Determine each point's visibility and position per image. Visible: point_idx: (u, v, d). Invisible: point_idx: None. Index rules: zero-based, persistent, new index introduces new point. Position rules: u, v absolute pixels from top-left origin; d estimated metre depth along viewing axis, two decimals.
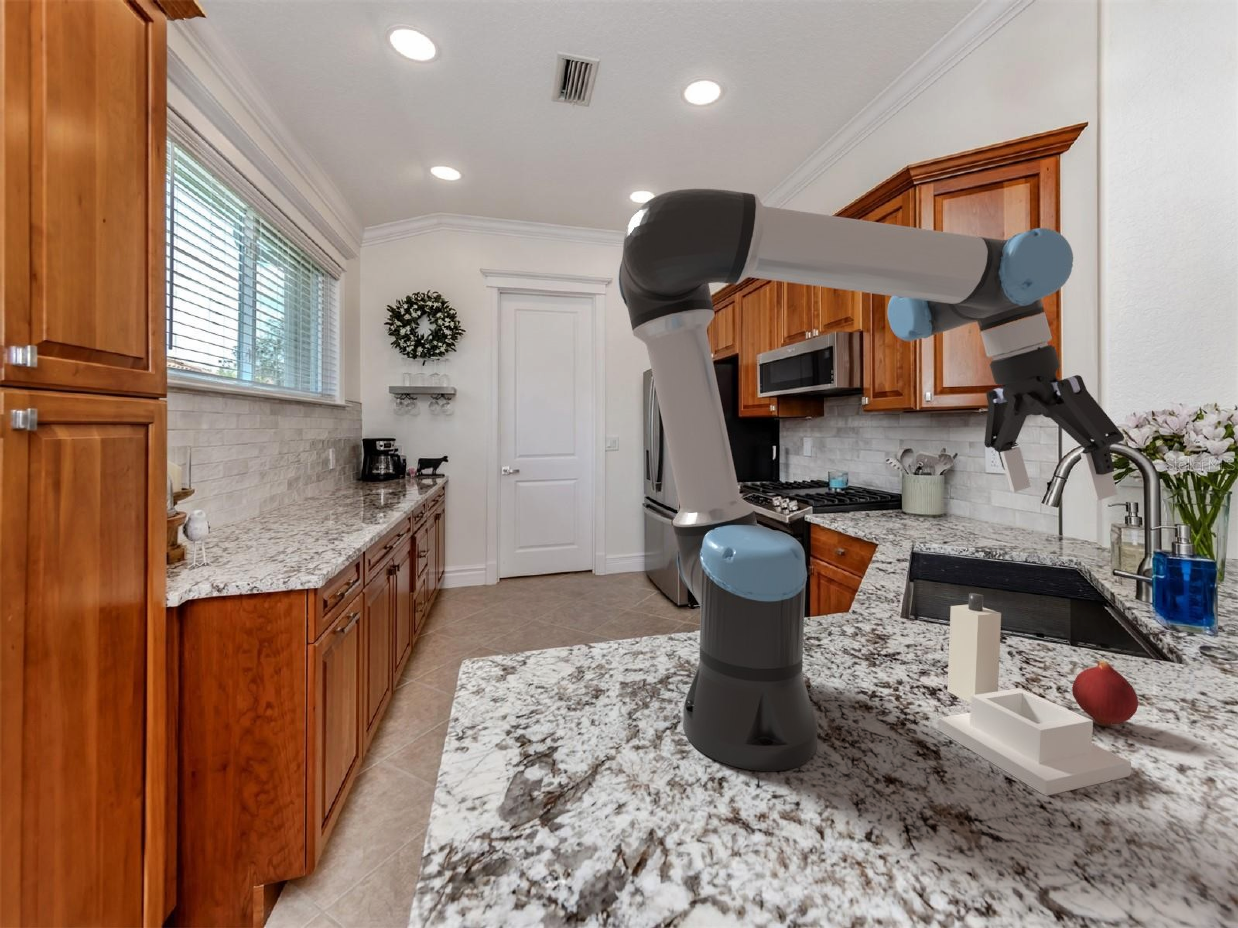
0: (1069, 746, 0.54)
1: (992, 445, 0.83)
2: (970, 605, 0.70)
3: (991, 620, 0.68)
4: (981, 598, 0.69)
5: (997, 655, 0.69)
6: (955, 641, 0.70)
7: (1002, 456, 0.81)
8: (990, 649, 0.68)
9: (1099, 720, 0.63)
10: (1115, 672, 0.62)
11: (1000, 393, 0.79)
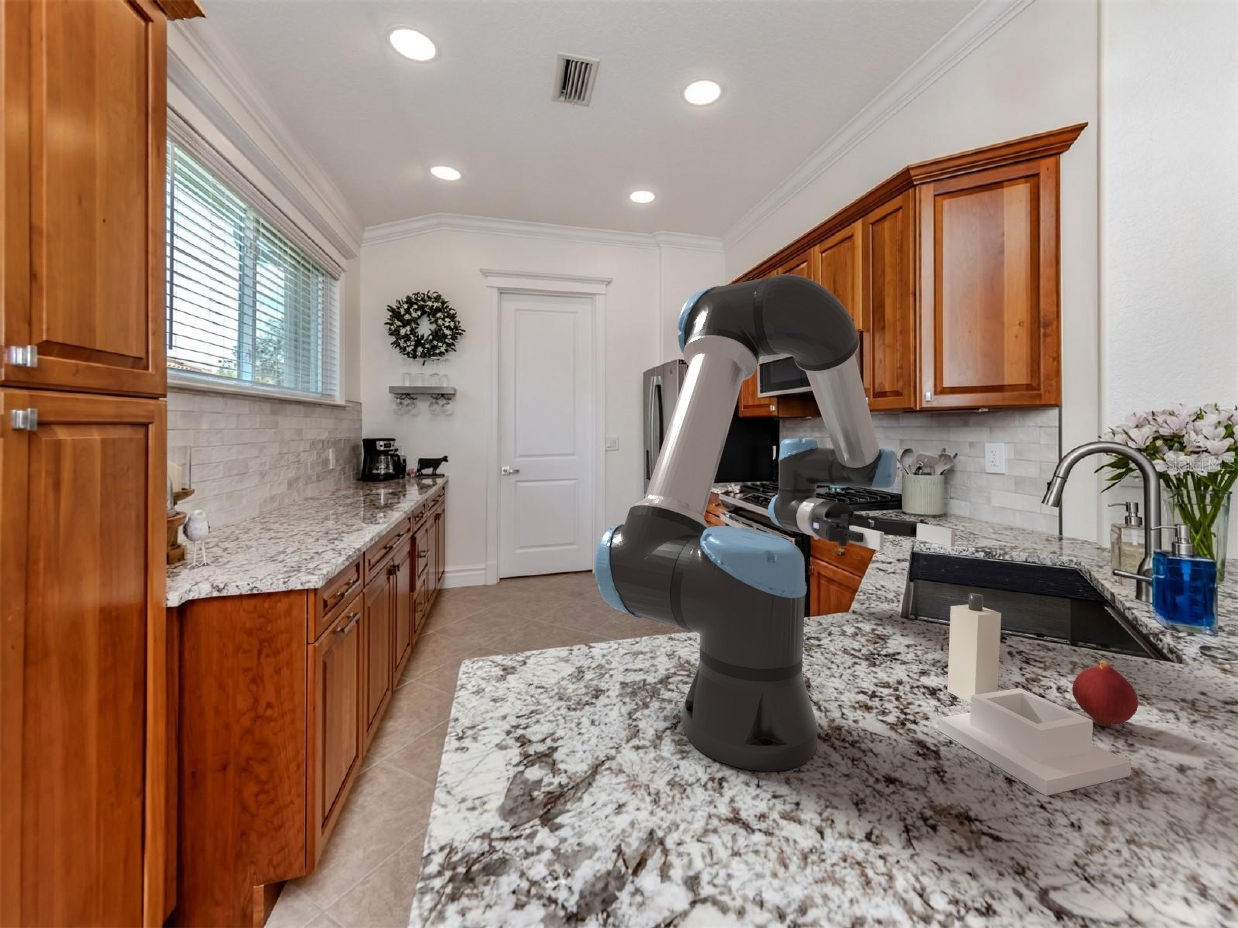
0: (1069, 746, 0.54)
1: (835, 528, 0.84)
2: (970, 605, 0.70)
3: (991, 620, 0.68)
4: (981, 598, 0.69)
5: (997, 655, 0.69)
6: (955, 641, 0.70)
7: (853, 526, 0.83)
8: (990, 649, 0.68)
9: (1099, 720, 0.63)
10: (1115, 672, 0.62)
11: None
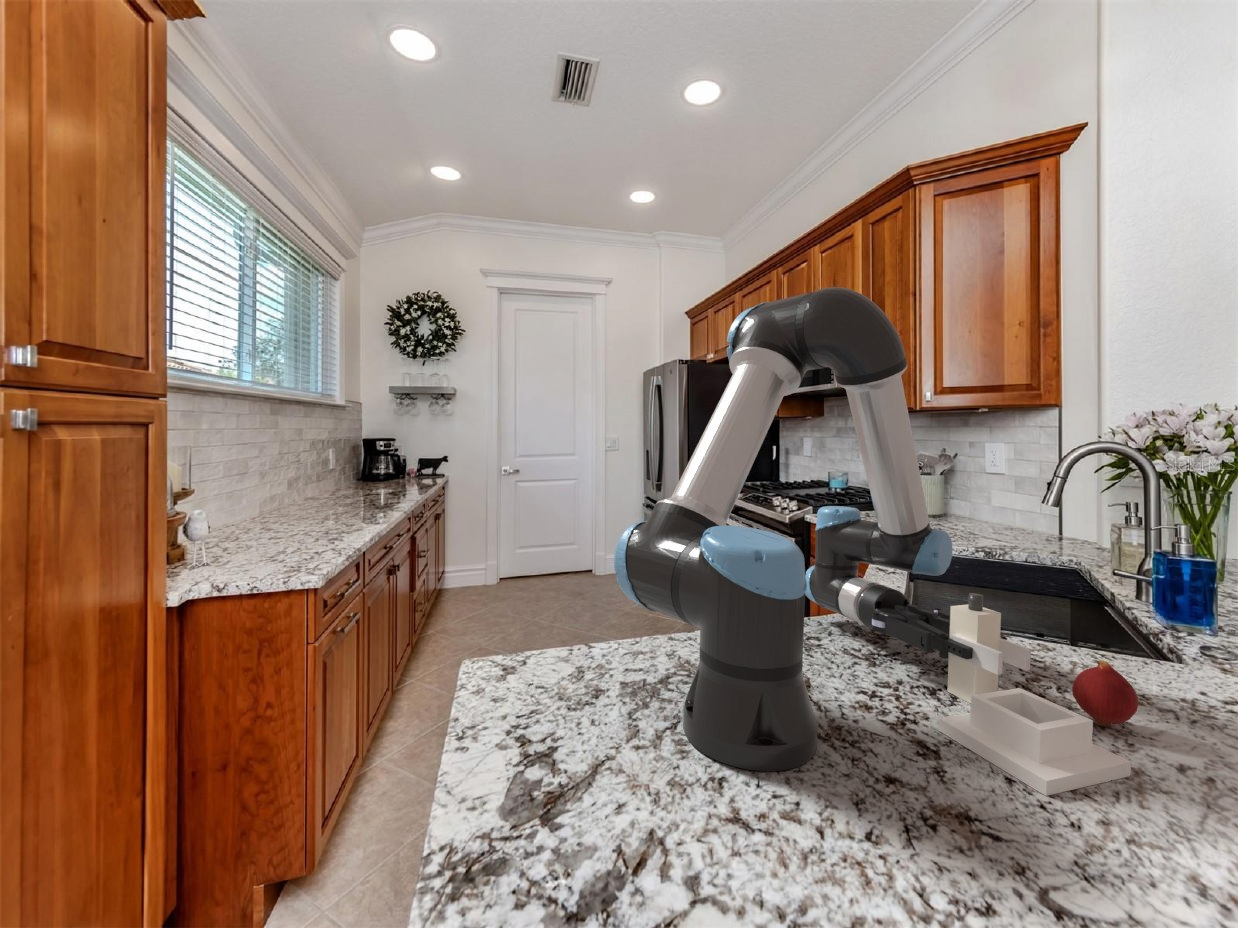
0: (1069, 746, 0.54)
1: (934, 637, 0.71)
2: (970, 605, 0.70)
3: (990, 620, 0.68)
4: (981, 598, 0.69)
5: None
6: None
7: (957, 636, 0.70)
8: None
9: (1099, 720, 0.63)
10: (1115, 672, 0.62)
11: None
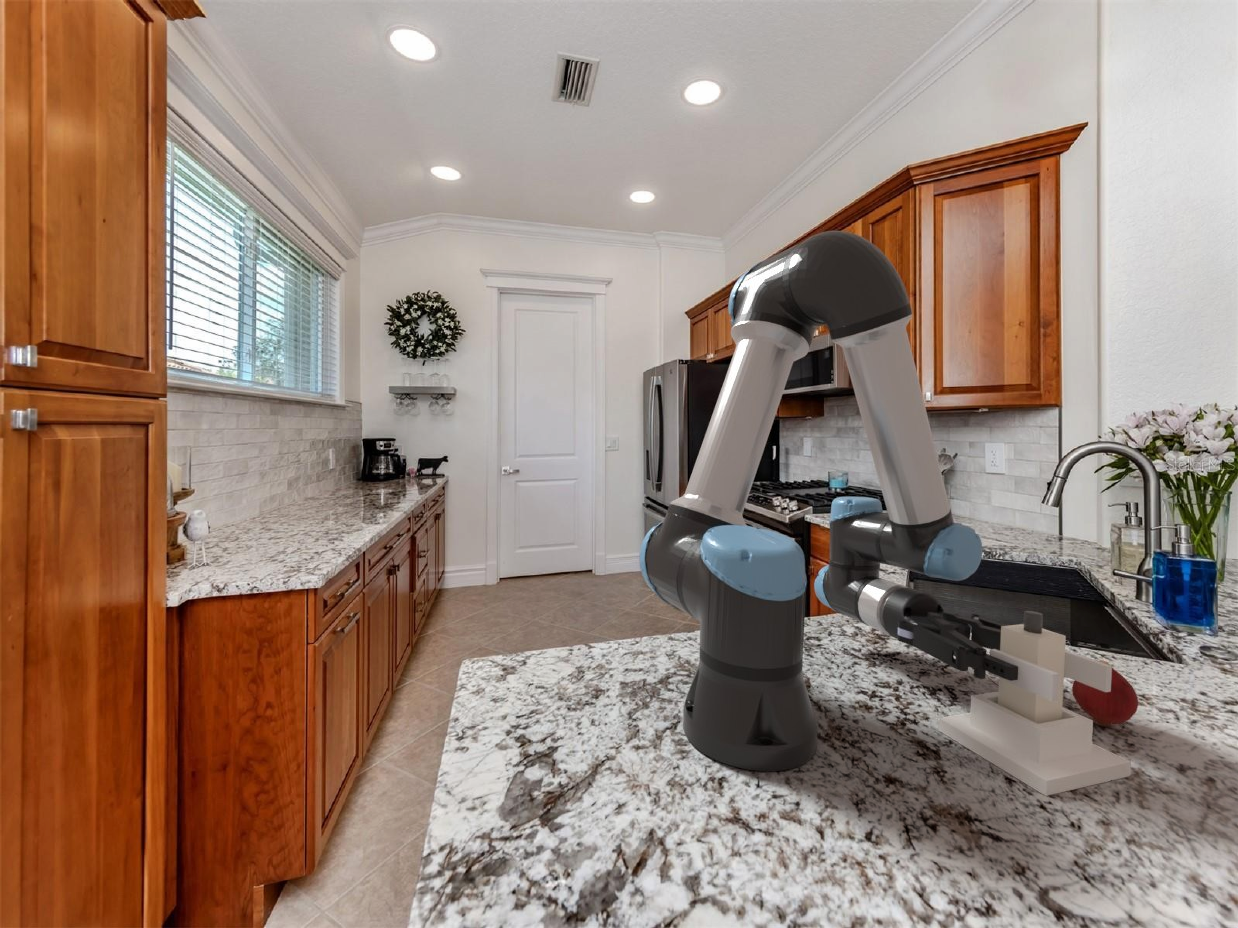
0: (1069, 746, 0.54)
1: (968, 652, 0.58)
2: (1026, 626, 0.57)
3: (1053, 645, 0.55)
4: (1040, 617, 0.56)
5: (1061, 688, 0.56)
6: None
7: (997, 651, 0.57)
8: None
9: (1099, 720, 0.63)
10: (1115, 672, 0.62)
11: None
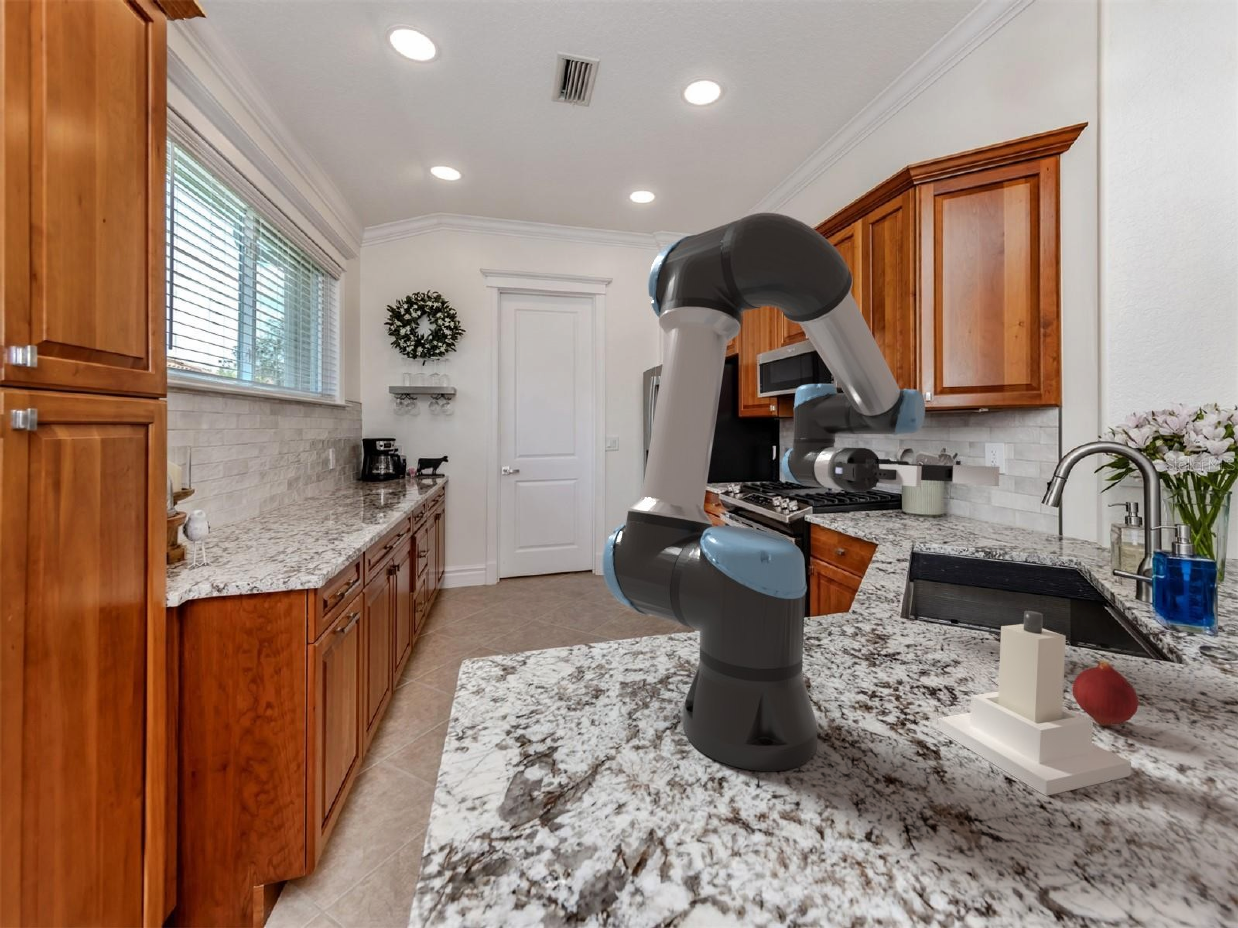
0: (1069, 746, 0.54)
1: (863, 467, 0.74)
2: (1026, 626, 0.57)
3: (1053, 645, 0.55)
4: (1040, 617, 0.56)
5: (1061, 688, 0.56)
6: (1007, 669, 0.58)
7: (884, 464, 0.73)
8: (1052, 680, 0.55)
9: (1099, 720, 0.63)
10: (1115, 672, 0.62)
11: None
